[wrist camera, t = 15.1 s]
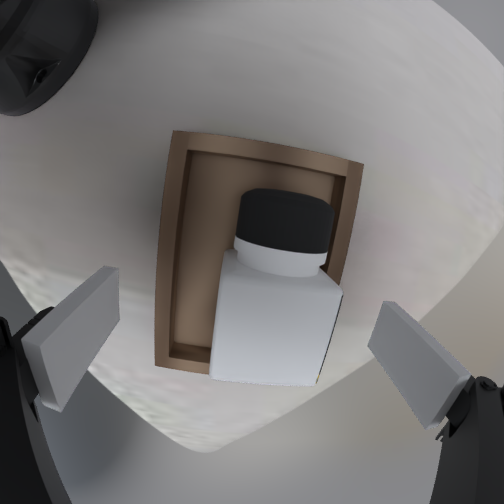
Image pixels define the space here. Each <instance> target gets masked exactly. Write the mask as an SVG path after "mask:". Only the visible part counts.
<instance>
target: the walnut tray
mask: <svg viewBox="0 0 504 504" xmlns="http://www.w3.org/2000/svg"><path fill="white" fill-rule="evenodd" d="M363 166H364V164H361V163H358V162H354V161H350V160H347V159H343V158H339V157H335V156H331V155H326V154H322V153H318V152H313V151H309V150H304V149H300V148H295V147H290V146H285V145H279V144H274V143H268V142H263V141H257V140H250V139H244V138H237V137H230V136H222V135H214V134H206V133H196V132H186V131H174V130H173V133H172V139H171V145H170V151H169V157H168V163H167V170H166V177H165V185H164V192H163V201H162V210H161V219H160V229H159V241H158V254H157V269H156V289H155V366H159V367H165V368H170V369H176V370H182V371H188V372H194V373H201V374H209V367H210V358H211V349H212V340H213V331H214V323H215V315H216V306H217V298H218V290H219V283H220V276H221V269H222V263H223V257H224V252H225V251H226V250H227V249H235V248H234V240H235V234H236V227H237V220H238V214H239V207H240V201H241V196H242V195H243V194H244V193H245V192H247V191H249V190H252V189H255V188H266V189H278V190H284V191H290V192H296V193H301V194H306V195H310V196H313V197H316V198H319V199H322V200H324V201H325V202H327V203H328V204H329V205H330V206H332V208H333V210H334V212H335V215H334V221H333V226H332V232H331V237H330V242H329V247H328V252H327V257H326V261H325V264H323V265H321V266H319V268H321V269H322V270H323V271H324V272H325V273H326V274H327V275H328V276H329V277H330V278H331V279H332V280H333V281H334V282H335V283H336V284H337V285H338V286H339V284H340V280H341V276H342V272H343V268H344V264H345V260H346V255H347V251H348V247H349V242H350V237H351V233H352V228H353V223H354V218H355V213H356V208H357V202H358V197H359V191H360V185H361V179H362V173H363Z"/></svg>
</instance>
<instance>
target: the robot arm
mask: <svg viewBox="0 0 504 504" xmlns="http://www.w3.org/2000/svg"><path fill="white" fill-rule="evenodd" d="M97 21H98V10H97V6H96V3H95V2H94V0H0V114H4V115H10V116H18V115H22V114H25V113H28V112H30V111H32V110H34V109H35V108H37V107H38V106H40V105H41V104H43V103H44V102H45V101H46V100H48V99H49V98H50V97H51V96H52V95H53V94H54V93H55V92H56V91H57V90H58V89H59V88H60V87H61V86H62V85H63V84H64V83H65V82H66V80H67V79H68V78H69V77H70V76H71V74H72V73H73V72H74V70H75V69H76V67H77V66H78V65H79V63H80V62H81V60H82V58H83V57H84V55H85V53H86V51H87V49H88V48H89V46H90V43H91V41H92V39H93V36H94V33H95V30H96V27H97ZM119 320H120V316H119V288H118V268H114V267H108V266H103V267H102V268H101V269H100V270H98V271H97V272H96V273H95V274H93V275H92V276H91V277H90V278H89V279H87V280H86V281H85V282H84V283H83V284H81V285H80V286H79V287H78V288H77V289H75V290H74V291H73V292H72V293H71V294H70V295H68V296H67V297H66V298H65V299H64V300H63V301H62V302H60V303H59V304H58V305H57V306H56V307H52V306H51V307H49V308H46V309H44V310H42V311H40V312H39V313H38V314H37V315H36V316H34V319H31V320H30V321H29V322H28V324H26V325H24V326H23V327H22V328H21V329H20V330H19V331H18V332H17V333H16V334H15V335H14V336H13V337H12V336H11V333H10V329H9V325H8V322H7V320H6V319H5V318H3V317H0V504H72V503H71V501H70V498H69V496H68V494H67V492H66V490H65V488H64V486H63V483H62V481H61V479H60V477H59V474H58V471H57V469H56V466H55V464H54V461H53V459H52V456H51V453H50V450H49V447H48V444H47V441H46V438H45V435H44V432H43V429H42V425H41V421H40V418H39V414H38V411H37V406H36V404H35V402H34V399H35V398H36V396H37V395H38V393H39V395H40V397H41V400H42V402H43V405H45V406H47V407H50V408H52V409H54V410H57V411H59V412H62V410H63V408H64V406H65V405H66V403H67V401H68V400H69V398H70V396H71V395H72V393H73V391H74V390H75V388H76V386H77V385H78V383H79V381H80V380H81V378H82V377H83V375H84V373H85V372H86V370H87V369H88V367H89V365H90V364H91V362H92V361H93V359H94V358H95V356H96V355H97V353H98V351H99V350H100V348H101V347H102V345H103V344H104V342H105V341H106V339H107V338H108V336H109V335H110V333H111V332H112V330H113V329H114V327H115V326H116V325H117V323H118V322H119ZM367 346H368V347H369V349H370V350H371V351H372V353H373V354H374V356H375V357H376V358H377V360H378V361H379V363H380V364H381V366H382V367H383V368H384V370H385V371H386V373H387V374H388V376H389V377H390V378H391V380H392V381H393V383H394V384H395V386H396V387H397V389H398V390H399V392H400V393H401V394H402V396H403V397H404V399H405V400H406V402H407V403H408V405H409V406H410V407H411V409H412V411H413V412H414V414H415V415H416V417H417V418H418V420H419V421H420V423H421V424H422V425H423V427H424V429H425V430H427V429H431V428H434V427H437V426H438V425H439V424H440V423H441V421H442V420H443V419H444V417H445V416H446V417H447V418H448V419H449V421H448V422H447V423H446V425H445V426H444V427H443V429H442V430H441V431H440V433H439V434H438V435H437V437H436V440H438V439H439V437H440V436H443V438H442V439H441V440H440V441H441V442H442V449H441V455H440V460H439V466H438V471H437V475H436V480H435V484H434V488H433V492H432V496H431V500H430V504H504V385H503V387H502V388H498V387H497V385H496V383H494V382H493V381H492V380H491V379H489V378H486V377H482V376H480V377H477V378H476V379H475V378H474V377H473V376H472V375H471V373H470V372H469V371H468V370H467V369H466V368H465V367H464V366H463V365H462V364H461V363H460V362H459V361H457V359H456V358H455V357H454V356H452V354H451V353H450V352H449V351H447V350H446V349H445V348H444V347H443V346H442V345H441V344H440V343H439V342H438V341H437V340H436V339H435V338H434V337H433V336H432V335H431V334H430V333H428V332H427V331H426V330H425V329H424V328H423V327H422V326H421V325H420V324H419V323H418V322H417V321H416V320H414V319H413V318H412V317H411V316H410V315H409V314H408V313H407V312H406V311H405V310H403V309H402V308H401V307H400V306H399V305H398V304H397V303H396V302H390V301H383V304H382V307H381V310H380V313H379V316H378V319H377V322H376V324H375V327H374V330H373V332H372V335H371V338H370V340H369V343H368V345H367Z"/></svg>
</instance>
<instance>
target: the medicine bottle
mask: <svg viewBox="0 0 504 504" xmlns="http://www.w3.org/2000/svg"><path fill="white" fill-rule="evenodd" d="M334 215H335V212H334V210H333V208H332V206H330V205H329V204H328V203H327V202H325V201H324V200H322V199H319V198H316V197H313V196H310V195H306V194H301V193H296V192H290V191H284V190H278V189H266V188H255V189H252V190H249V191H247V192H245V193H244V194H243V195H242V196H241V201H240V207H239V214H238V220H237V227H236V234H235V240H234V248H235V249H227V250H226V251H225V252H224V257H223V263H222V269H221V276H220V283H219V290H218V298H217V306H216V315H215V323H214V331H213V340H212V349H211V358H210V367H209V376H210V378H211V379H213V380H220V381H229V382H239V383H250V384H263V385H281V386H314V385H315V384H316V383H317V380H318V378H319V375H320V372H321V369H322V366H323V363H324V360H325V357H326V353H327V350H328V347H329V344H330V341H331V337H332V334H333V330H334V327H335V324H336V320H337V316H338V313H339V309H340V306H341V302H342V298H343V290H342V289H341V288H340V287H339V286H338V285H337V284H336V283H335V282H334V281H333V280H332V279H331V278H330V277H329V276H328V275H327V274H326V273H325V272H324V271H323V270H322V269H321V268H319V266H321V265H323V264H325V261H326V257H327V252H328V247H329V242H330V237H331V232H332V226H333V221H334Z"/></svg>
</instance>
